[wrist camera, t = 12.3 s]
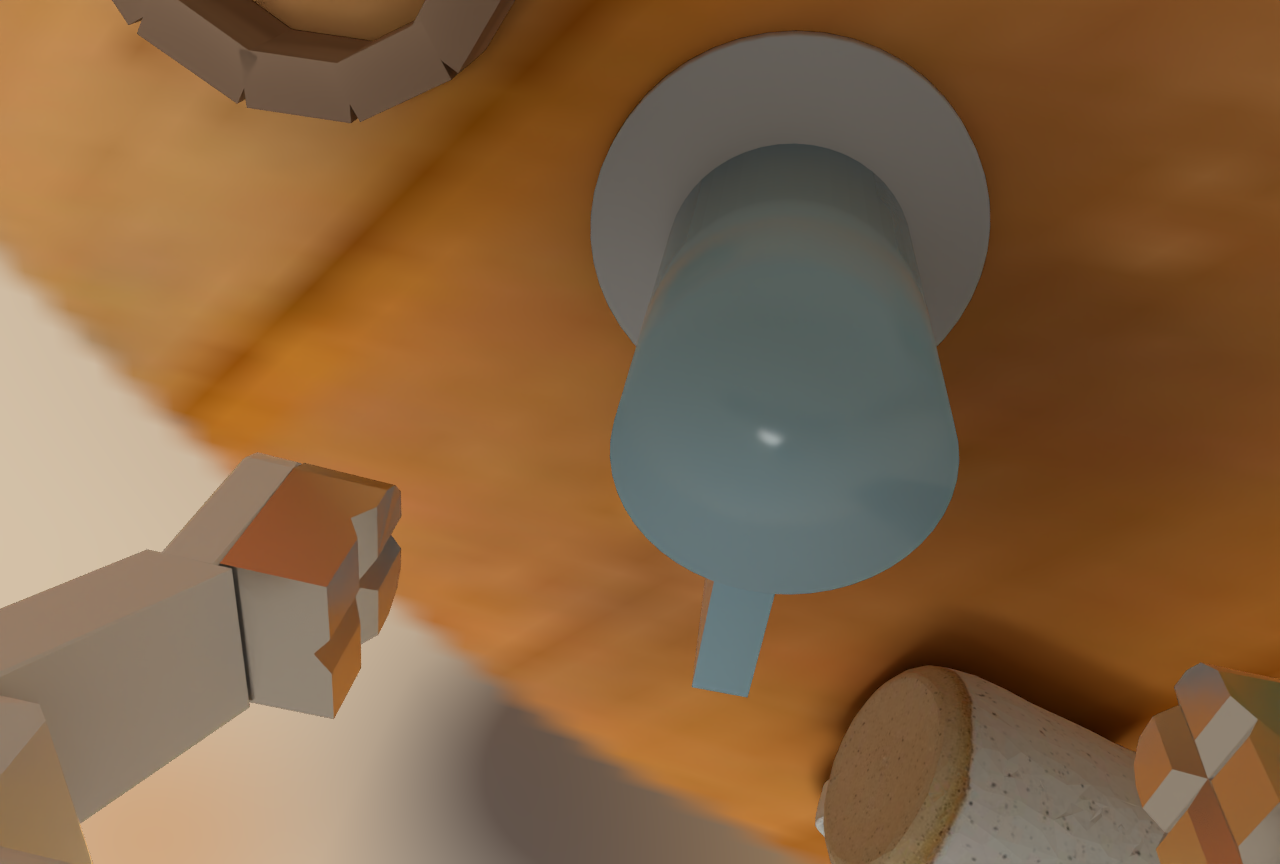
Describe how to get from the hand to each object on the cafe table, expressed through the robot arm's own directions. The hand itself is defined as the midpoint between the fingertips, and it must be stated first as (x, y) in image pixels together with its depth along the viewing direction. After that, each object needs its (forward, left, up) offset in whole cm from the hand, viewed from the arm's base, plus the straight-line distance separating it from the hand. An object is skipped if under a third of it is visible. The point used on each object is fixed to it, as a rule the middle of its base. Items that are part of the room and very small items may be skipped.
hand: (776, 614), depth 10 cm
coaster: (+1, +1, -14) cm, 14 cm away
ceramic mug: (+1, +21, -14) cm, 25 cm away
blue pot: (+2, +4, -14) cm, 14 cm away
